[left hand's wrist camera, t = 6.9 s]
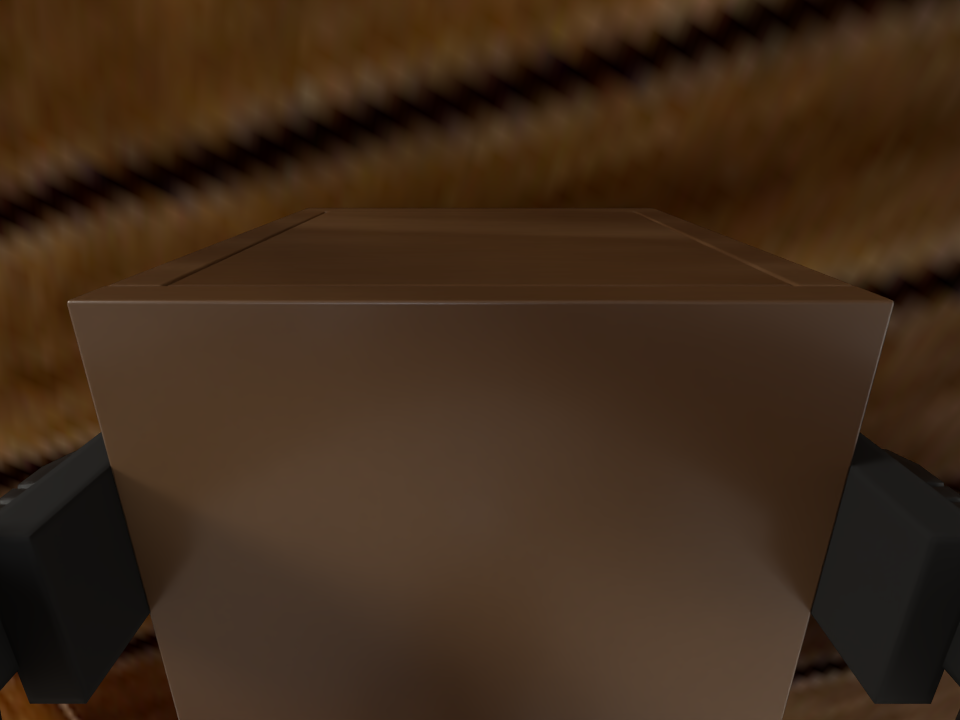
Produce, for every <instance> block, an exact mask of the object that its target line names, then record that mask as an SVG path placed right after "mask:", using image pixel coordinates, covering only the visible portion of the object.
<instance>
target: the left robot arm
mask: <svg viewBox="0 0 960 720" xmlns="http://www.w3.org/2000/svg"><path fill="white" fill-rule="evenodd" d="M149 613H150V611H149V607H148V604H147V600H146V596H145V592H144V589H143V585H142V581H141V577H140V574H139V570H138V566H137V563H136V559H135V555H134V551H133V548H132V544H131V540H130V536H129V533H128V529H127V525H126V522H125V518H124V514H123V510H122V507H121V503H120V499H119V496H118V492H117V488H116V484H115V481H114V477H113V473H112V469H111V466H110V462H109V458H108V455H107V451H106V447H105V443H104V440H103V436H102V432H101V433H99V434H98V435H97V436H96V437H94V438H93V439H92V440H90V441H89V442H88V443H86V444H85V445H84V446H82V447H81V448H80V449H79V450H77V451H75V452H72V453H70V454H68V455H66V456H64V457H62V458H60V459H58V460H56V461H54V462H51V463H49V464H47V465H45V466H43V467H42V468H40V469H39V470H38V471H36V472H35V473H33V474H32V475H31V476H29V477H28V478H27V479H25V480H24V481H23V482H21V483H20V484H19V485H18V488H17V489H12V490H11V491H9V492H8V493H7V494H5V495H4V496H2V497H1V498H0V690H1V689H2V688H3V687H4V686H5V685H6V683H7V682H8V681H9V680H10V679H11V678H12V677H13V675H14V674H15V673H16V672H18V674H19V677H20V680H21V682H22V685H23V687H24V690H25V692H26V695H27V697H28V700H29V702H30V704H86V703H87V702H88V700H89V699H90V697H91V696H92V695H93V693H94V692H95V690H96V689H97V687H98V686H99V685H100V683H101V682H102V680H103V679H104V677H105V676H106V675H107V673H108V672H109V670H110V669H111V667H112V666H113V665H114V663H115V662H116V660H117V659H118V657H119V656H120V655H121V653H122V652H123V650H124V649H125V647H126V646H127V645H128V643H129V642H130V640H131V639H132V637H133V636H134V635H135V633H136V632H137V630H138V629H139V627H140V626H141V625H142V623H143V622H144V620H145V619H146V617H147V616H148V615H149ZM811 614H812V615H813V617H814V618H815V619H816V621H817V622H818V624H819V625H820V627H821V628H822V629H823V631H824V632H825V634H826V635H827V637H828V638H829V639H830V641H831V642H832V644H833V645H834V647H835V648H836V649H837V651H838V652H839V654H840V655H841V657H842V658H843V659H844V661H845V662H846V664H847V665H848V666H849V668H850V669H851V671H852V672H853V674H854V675H855V676H856V678H857V679H858V681H859V682H860V684H861V685H862V686H863V688H864V689H865V691H866V692H867V694H868V695H869V696H870V698H871V699H872V701H873V702H874V704H931V702H932V700H933V697H934V694H935V692H936V689H937V687H938V684H939V682H940V679H941V677H942V674H943V672H944V669H945V670H946V671H947V672H948V674H949V675H950V676H951V677H952V678H953V679H954V680H955V682H956V683H957V684H958V685H959V686H960V495H959V494H958V493H957V492H955V491H954V490H953V489H951V488H950V487H944V483H943V482H942V481H940V480H939V479H938V478H936V477H935V476H934V475H932V474H931V473H929V472H928V471H927V470H925V469H924V468H923V467H921V466H920V465H918V464H916V463H914V462H912V461H910V460H908V459H906V458H904V457H902V456H899V455H897V454H895V453H893V452H891V451H889V450H887V449H881V448H880V447H878V446H877V445H876V444H874V443H873V442H872V441H870V440H869V439H868V438H866V437H865V436H864V435H863V434H861V433H860V432H859V436H858V440H857V443H856V447H855V451H854V455H853V458H852V462H851V466H850V469H849V473H848V477H847V481H846V484H845V488H844V492H843V495H842V499H841V503H840V507H839V510H838V514H837V518H836V521H835V525H834V529H833V533H832V536H831V540H830V544H829V547H828V551H827V555H826V559H825V562H824V566H823V570H822V573H821V577H820V581H819V585H818V588H817V592H816V596H815V599H814V603H813V607H812V610H811ZM0 720H2V718H1V712H0ZM955 720H960V710H959V712H958V715H957V717H956V719H955Z"/></svg>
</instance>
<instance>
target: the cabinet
mask: <svg viewBox="0 0 960 720" xmlns="http://www.w3.org/2000/svg"><path fill="white" fill-rule="evenodd" d="M67 306H68V309H69V313H70V317H71V320H72V324H73V328H74V332H75V335H76V339H77V343H78V347H79V350H80V354H81V358H82V361H83V365H84V369H85V373H86V376H87V380H88V384H89V387H90V391H91V395H92V399H93V402H94V406H95V410H96V414H97V417H98V421H99V425H100V428H101V432H102V436H103V440H104V443H105V447H106V451H107V455H108V458H109V462H110V466H111V469H112V473H113V477H114V481H115V484H116V488H117V492H118V496H119V499H120V503H121V507H122V510H123V514H124V518H125V522H126V525H127V529H128V533H129V536H130V540H131V544H132V548H133V551H134V555H135V559H136V563H137V566H138V570H139V574H140V577H141V581H142V585H143V589H144V592H145V596H146V600H147V604H148V607H149V611H150V615H151V618H152V622H153V626H154V630H155V633H156V637H157V641H158V645H159V648H160V652H161V656H162V659H163V663H164V667H165V671H166V674H167V678H168V682H169V685H170V689H171V693H172V697H173V700H174V704H175V708H176V712H177V715H178V719H179V720H782V718H783V714H784V711H785V707H786V703H787V700H788V696H789V692H790V688H791V685H792V681H793V677H794V674H795V670H796V666H797V662H798V659H799V655H800V651H801V648H802V644H803V640H804V636H805V633H806V629H807V625H808V622H809V618H810V614H811V610H812V607H813V603H814V599H815V596H816V592H817V588H818V585H819V581H820V577H821V573H822V570H823V566H824V562H825V559H826V555H827V551H828V547H829V544H830V540H831V536H832V533H833V529H834V525H835V521H836V518H837V514H838V510H839V507H840V503H841V499H842V495H843V492H844V488H845V484H846V481H847V477H848V473H849V469H850V466H851V462H852V458H853V455H854V451H855V447H856V443H857V440H858V436H859V432H860V429H861V425H862V421H863V417H864V414H865V410H866V406H867V403H868V399H869V395H870V391H871V388H872V384H873V380H874V377H875V373H876V369H877V365H878V362H879V358H880V354H881V351H882V347H883V343H884V339H885V336H886V332H887V328H888V325H889V321H890V317H891V313H892V310H893V306H894V302H893V301H892V300H890V299H887V298H885V297H882V296H880V295H877V294H874V293H872V292H869V291H867V290H864V289H861V288H859V287H856V286H853V285H850V284H848V283H845V282H843V281H840V280H837V279H835V278H832V277H830V276H827V275H825V274H822V273H819V272H817V271H814V270H812V269H809V268H806V267H804V266H801V265H799V264H796V263H794V262H791V261H788V260H786V259H783V258H781V257H778V256H775V255H773V254H770V253H768V252H765V251H763V250H760V249H757V248H755V247H752V246H750V245H747V244H744V243H742V242H739V241H737V240H734V239H732V238H729V237H726V236H724V235H721V234H719V233H716V232H713V231H711V230H708V229H706V228H703V227H701V226H698V225H695V224H693V223H690V222H688V221H685V220H682V219H680V218H677V217H675V216H672V215H670V214H667V213H664V212H662V211H659V210H656V209H654V208H307V209H305V210H302V211H299V212H297V213H294V214H292V215H289V216H286V217H284V218H281V219H279V220H276V221H274V222H271V223H268V224H266V225H263V226H261V227H258V228H255V229H253V230H250V231H248V232H245V233H243V234H240V235H237V236H235V237H232V238H230V239H227V240H225V241H222V242H219V243H217V244H214V245H212V246H209V247H206V248H204V249H201V250H199V251H196V252H194V253H191V254H188V255H186V256H183V257H181V258H178V259H176V260H173V261H170V262H168V263H165V264H163V265H160V266H158V267H155V268H152V269H150V270H147V271H145V272H142V273H139V274H137V275H134V276H132V277H129V278H127V279H124V280H121V281H119V282H116V283H114V284H111V285H109V286H104V287H102V288H99V289H97V290H94V291H91V292H89V293H86V294H84V295H81V296H79V297H76V298H73V299H71V300H69V301H68V302H67Z"/></svg>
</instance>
